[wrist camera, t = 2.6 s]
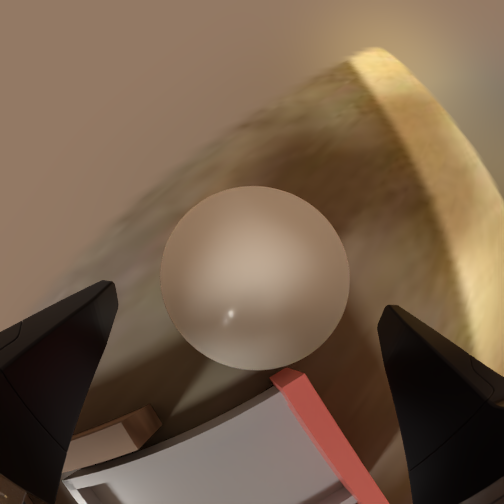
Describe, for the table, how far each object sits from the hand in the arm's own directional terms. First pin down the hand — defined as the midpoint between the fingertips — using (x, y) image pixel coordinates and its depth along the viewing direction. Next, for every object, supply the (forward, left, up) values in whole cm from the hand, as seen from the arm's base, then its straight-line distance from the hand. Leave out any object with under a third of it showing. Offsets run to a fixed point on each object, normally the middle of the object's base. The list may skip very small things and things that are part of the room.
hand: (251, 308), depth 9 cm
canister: (+1, 0, -8) cm, 9 cm away
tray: (-9, +7, -8) cm, 14 cm away
